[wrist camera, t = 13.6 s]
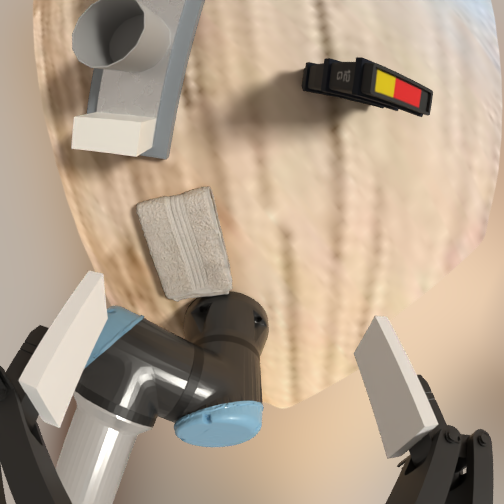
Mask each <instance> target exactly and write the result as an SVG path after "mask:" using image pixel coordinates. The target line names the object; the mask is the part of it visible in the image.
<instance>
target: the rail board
mask: <svg viewBox="0 0 504 504" xmlns="http://www.w3.org/2000/svg"><path fill="white" fill-rule="evenodd" d="M204 2H205V0H187V2H186V5H185V8H184V11H183V15H182V18H181V21H180V25H179V29H178V32H177V36H176V40H175V43H174V47H173V51H172V55H171V59H170V64H169V68H168V72H167V77H166V81H165V86H164V91H163V96H162V101H161V106H160V112H159V117H158V123H157V129H156V135H155V141H154V147H152V148H150V149H149V150H147V151H145V152H144V153H142V154H140V155H142V156H148V157H155V158H161V159H167V158H168V157H169V153H170V147H171V141H172V135H173V129H174V124H175V119H176V113H177V108H178V103H179V99H180V94H181V89H182V85H183V80H184V76H185V72H186V67H187V63H188V59H189V55H190V51H191V47H192V43H193V40H194V36H195V32H196V29H197V25H198V22H199V18H200V15H201V11H202V8H203V5H204ZM102 74H103V69H98V68H94V71H93V77H92V82H91V88H90V94H89V101H88V108H87V114H89V113H94V112H96V111H97V104H98V97H99V91H100V85H101V80H102Z"/></svg>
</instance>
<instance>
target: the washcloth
mask: <svg viewBox="0 0 504 504" xmlns="http://www.w3.org/2000/svg"><path fill="white" fill-rule="evenodd" d="M136 209H137V214H138V217H139V221H140V224H141V225H142V230H143V231H144V236H145V238H146V241H147V245H148V247H149V249H150V254H151V256H152V259H153V262H154V264H155V265H154V266H155V268H156V270H157V272H158V276H159V278H160V280H161V284H162V288H163V290H164V292H165V296H167V298H168V299H173V300H174V301H179V300H182V299H187V298H196V297H205V296H216V295H222V294H229V290H232V277H231V271H230V264H229V259H228V255H227V251H226V246H225V242H224V238H223V234H222V230H221V226H220V222H219V218H218V214H217V209H216V205H215V200H214V196H213V192H212V189H211V188H210V187H209V186H208V187H201V188H197V189H195V190H194V189H193V190H191V191H188V192H185V193H184V194H180V195H173V196H171V197H170V196H169V197H168V196H163V197H159V198H154V199H150V200H147V201H143V202H140V203H138V204H137V207H136Z"/></svg>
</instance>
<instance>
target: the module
mask: <svg viewBox="0 0 504 504" xmlns="http://www.w3.org/2000/svg"><path fill="white" fill-rule="evenodd" d="M156 119H157V118H152V117H144V116H135V115H125V114H114V113H102V112H94V113H89V114H84V115H80V116H75V117H74V123H73V134H72V147H71V149H79V150H88V151H97V152H105V153H113V154H120V155H127V156H134V157H137V156H139V155H140V154H142V153H144V152H145V151H147V150H149V149H150V148H152V144H153V137H154V131H155V125H156Z"/></svg>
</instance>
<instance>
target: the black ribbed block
mask: <svg viewBox="0 0 504 504" xmlns="http://www.w3.org/2000/svg"><path fill="white" fill-rule="evenodd" d="M302 88H303V91H307V92H313V93H319V94H324V95H329V96H334V97H339V98H343V99H348V100H352V101H356V102H361V103H365V104H369V105H372V106H376V107H380V108H384V107H386V108H389V109H392V110H395V111H398V109H400V110H403V111H406V112H409V113H411V114H414V115H417V116H420V117H422V116H423V114H425V115H430V110H431V103H432V96H433V91H432V90H430V89H428V88H427V87H425V86H423V85H421V84H419V83H417V82H415V81H413V80H411V79H409V78H407V77H405V76H403V75H401V74H399V73H397V72H395V71H393V70H390V69H388V68H386V67H384V66H382V65H379V64H377V63H374V62H372V61H369V60H367V59H364V58H358V57H357V58H356V62H340V61H337V60H333V59H330V58H329V59H324V64H315V63H310V62H308V63H306V68H305V69H304V74H303V82H302Z"/></svg>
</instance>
